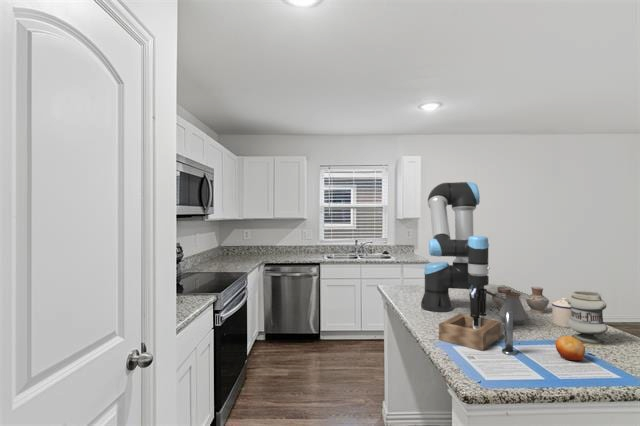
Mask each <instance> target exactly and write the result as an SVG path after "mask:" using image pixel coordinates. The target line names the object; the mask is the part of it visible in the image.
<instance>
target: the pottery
mask: <svg viewBox="0 0 640 426" xmlns="http://www.w3.org/2000/svg"><path fill="white" fill-rule="evenodd" d="M496 289H497V292H495V293H494V294H495V295H497V296H500V297H502V298H505V299H506V294H505V292H512V288H511V287H507V286H498V287H497V288H496ZM543 291H544V288H543V287H541V286H540V287H539V286H532V287H531V292H532V293H531V294H528V296H527V295H526V297H525V302H526V304H527V306H528V307H529V308H530V312H531V313H535V314H544V313H545V311H544V310H546V309H547V307H548V305H549V303H550V300H549V298H547V297H546V296H544V295H543ZM491 299H492V301H493V302H494V304H495V305H496V306H497V309H498V310H500V309H501V307H502V305H503V303H504V300H502V299H500V298H497V297H495V296H492V295H491Z"/></svg>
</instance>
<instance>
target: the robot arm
mask: <svg viewBox="0 0 640 426" xmlns="http://www.w3.org/2000/svg"><path fill="white" fill-rule="evenodd" d="M480 199H481V198H480V190H479V187H478V185H477V184H476V183H475V182H471V181H470V182H469V181H465V182H464V181H460V182H442V183H439V184H437V185H436V186H435V187H434V188H432V189H431V191H430V193H429V195H428V197H427V206H428V208H429V209H430V221H431V231H432V232H431V234H432V238H431V239H429V240H428V252H429V255H430V256H431V257H453V258H454V257H455V258H454V259H453V260H452V264H449V262H447V261H435V262H434V261H433V262H429V263H427V264H425V265H424V273H423V274H424V293H423V295H422V296H423V297H422V299H421V302H420V305H421V306H420V307H421V309H423V310H426V311H430V312H435V313H436V312H437V313H442V312H443V313H444V312H445V313H446V312H451V311H453V303H452V300H451V297H450V294H449V289H456V290H457V289H458V290H459V289H460V290H471V292H469V293H468V294H469V295H468V296H469V308H470V309H469V311H470V313H469V314H470V317H473V329H476V330H477V329H479V328H481V318H484V317H486V316H487V314H486V312H487V291H488V289H487V288H485V286H488V285H489V275H488V274H489V270H490V267H489V247H490V244H489V237H488V236H483V235H482V236H481V235H474V211H475V210H476V209H477V205H479V204H480ZM448 206H451V210H453V212H454V229H455V231H454V236H455V237H454V238H455V239H452V238H451V233H450V225H449V219H448V210H447V207H448Z"/></svg>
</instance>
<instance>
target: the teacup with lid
mask: <svg viewBox="0 0 640 426" xmlns="http://www.w3.org/2000/svg"><path fill="white" fill-rule="evenodd" d="M567 300H568V297H561V299H559V300H555V301H553V302H551V305H552V307H551V309H552V310H551V311H552V312H551V313H552V320H551V321H552V324H553V325H554V326H557V327H561V328H567V329H571V328H570V327H569V326H568V320H569V319H570V318H571V306H570V305H569V304H568V302H567Z"/></svg>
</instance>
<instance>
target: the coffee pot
mask: <svg viewBox="0 0 640 426" xmlns="http://www.w3.org/2000/svg"><path fill="white" fill-rule="evenodd" d="M505 294H506V299H505V298H502V297H500V296H497V295H495V293H493V292H491V291H489V290H487V293H486V295H490V296H491V297H492V296H495V297H497V298H500V299H502V300H504V303H503V305H502V307H501V309H499V312H498V314H497V315H498V317H499V319H500V320H502V321H503V323H505V311H511V312H513V326H516V325H517V326H518V325H519V326H520V325H523V324H524V323H525V322H526V323H527V321H528V318H529V317H528V314H527V313H526V310H525V309H524V306H523V304H522V303H523V302H522V301H521V298H520V296H522V294H521V293H519V292H516V291H511V292H505Z"/></svg>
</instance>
